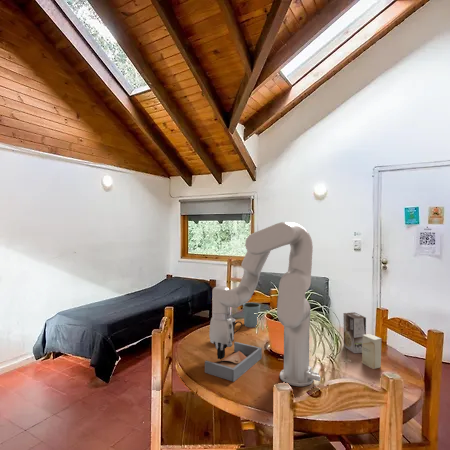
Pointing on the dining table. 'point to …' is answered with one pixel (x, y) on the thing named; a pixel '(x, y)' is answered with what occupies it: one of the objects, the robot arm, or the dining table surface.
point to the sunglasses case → (232, 359)
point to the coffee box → (354, 331)
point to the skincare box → (371, 351)
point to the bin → (238, 370)
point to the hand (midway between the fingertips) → (221, 357)
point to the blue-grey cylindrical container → (251, 314)
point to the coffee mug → (235, 324)
